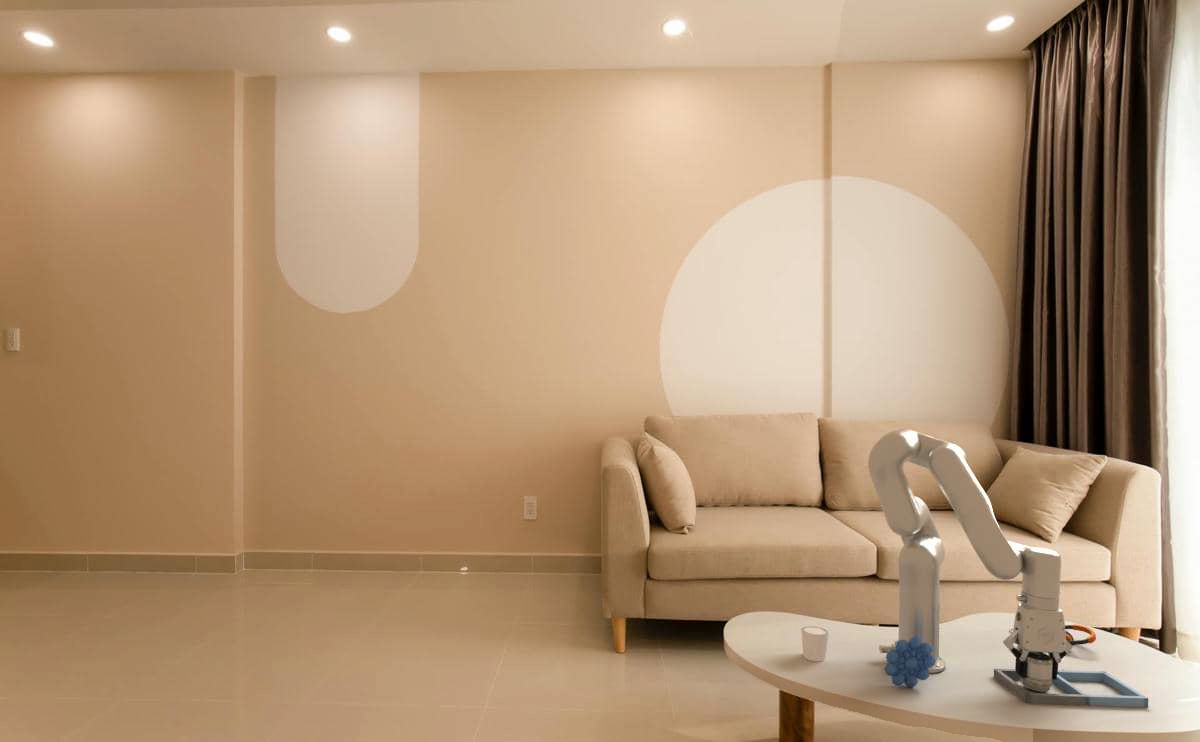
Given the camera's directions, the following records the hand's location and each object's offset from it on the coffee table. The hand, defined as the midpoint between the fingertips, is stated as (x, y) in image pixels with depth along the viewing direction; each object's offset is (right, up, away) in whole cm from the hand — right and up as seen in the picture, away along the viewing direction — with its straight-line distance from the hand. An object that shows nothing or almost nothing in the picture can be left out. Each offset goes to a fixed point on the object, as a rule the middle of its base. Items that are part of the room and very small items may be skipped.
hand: (1036, 675), depth 165 cm
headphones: (+22, -4, +28) cm, 36 cm away
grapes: (-30, -3, +1) cm, 30 cm away
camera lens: (0, -3, 0) cm, 3 cm away
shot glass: (-48, -3, +17) cm, 50 cm away
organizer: (+7, -3, -1) cm, 8 cm away
